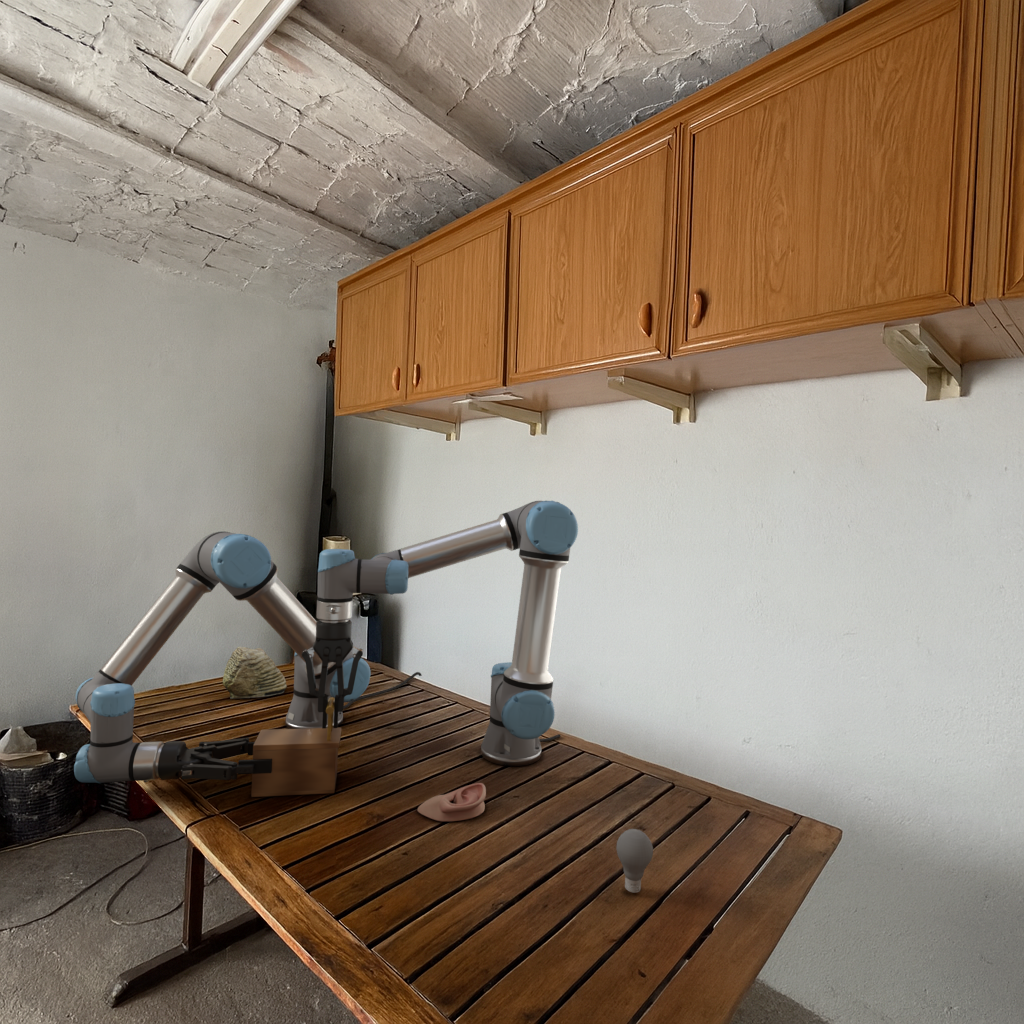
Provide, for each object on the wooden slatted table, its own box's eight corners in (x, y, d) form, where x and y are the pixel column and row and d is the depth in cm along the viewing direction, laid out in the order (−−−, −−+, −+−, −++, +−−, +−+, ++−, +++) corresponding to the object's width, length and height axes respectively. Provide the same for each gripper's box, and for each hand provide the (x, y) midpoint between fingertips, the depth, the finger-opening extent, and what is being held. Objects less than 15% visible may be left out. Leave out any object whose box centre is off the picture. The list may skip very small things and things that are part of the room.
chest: (336, 774, 145) (338, 732, 144) (334, 793, 136) (336, 748, 135) (259, 778, 141) (261, 734, 141) (251, 797, 132) (253, 751, 132)
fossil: (218, 695, 195) (220, 647, 195) (278, 685, 208) (279, 640, 207) (228, 703, 189) (230, 653, 188) (289, 692, 201) (290, 645, 201)
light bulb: (610, 879, 108) (613, 822, 108) (644, 879, 109) (647, 822, 109) (619, 902, 102) (622, 840, 102) (655, 901, 103) (658, 840, 103)
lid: (341, 732, 144) (343, 695, 144) (338, 748, 136) (340, 708, 135) (261, 734, 141) (262, 696, 141) (253, 750, 132) (254, 710, 132)
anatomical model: (412, 797, 126) (431, 773, 138) (411, 817, 126) (430, 791, 138) (476, 807, 124) (490, 781, 135) (476, 827, 124) (489, 800, 135)
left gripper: (177, 757, 143) (282, 753, 148) (142, 803, 122) (265, 797, 127) (179, 724, 143) (283, 721, 148) (143, 764, 122) (267, 759, 127)
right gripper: (296, 622, 134) (292, 733, 134) (368, 623, 137) (364, 731, 137) (301, 616, 141) (297, 721, 142) (368, 616, 144) (364, 719, 145)
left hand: (275, 756), depth 137 cm, fingers closed on chest, 9 cm apart
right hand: (330, 725), depth 139 cm, fingers closed on lid, 2 cm apart
